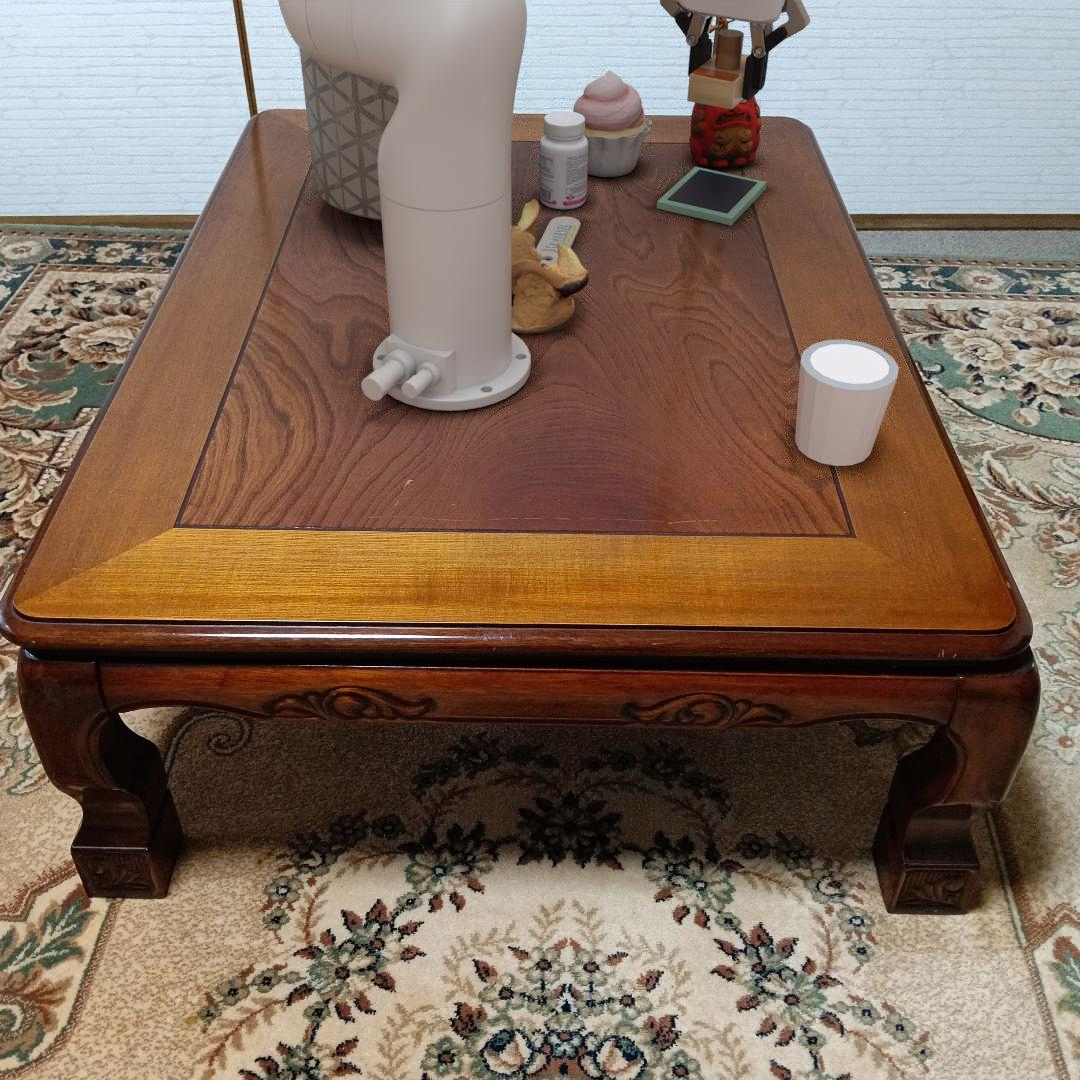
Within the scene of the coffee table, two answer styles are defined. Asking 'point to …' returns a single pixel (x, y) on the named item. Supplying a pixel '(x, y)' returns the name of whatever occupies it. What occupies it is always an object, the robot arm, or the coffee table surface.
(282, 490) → the coffee table surface
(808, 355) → the white cylinder
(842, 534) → the coffee table surface
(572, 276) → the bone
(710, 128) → the red clay folk toy
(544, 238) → the keychain
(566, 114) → the pill bottle
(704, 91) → the stamp
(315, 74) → the planter
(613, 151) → the cupcake
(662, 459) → the coffee table surface
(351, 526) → the coffee table surface
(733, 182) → the ink pad
